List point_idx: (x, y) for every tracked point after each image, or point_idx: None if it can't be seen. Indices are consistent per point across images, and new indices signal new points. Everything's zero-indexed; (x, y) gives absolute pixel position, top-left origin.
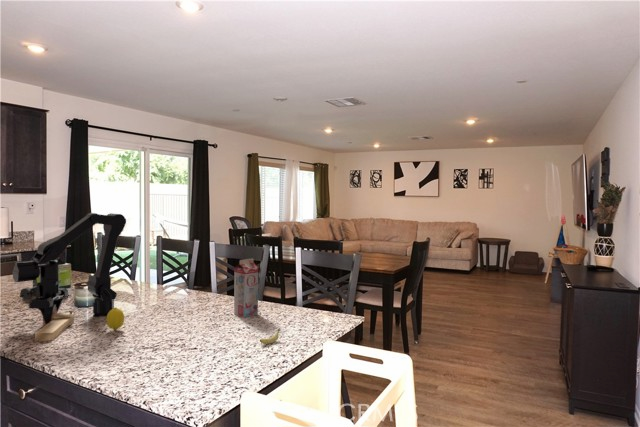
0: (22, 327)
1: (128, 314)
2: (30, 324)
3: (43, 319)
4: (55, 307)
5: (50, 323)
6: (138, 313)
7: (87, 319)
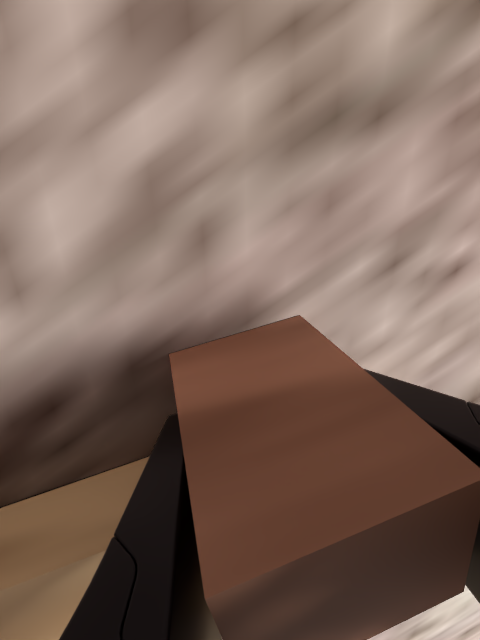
0: (118, 54)
1: (444, 617)
2: (280, 99)
3: (181, 422)
4: (423, 609)
5: (31, 600)
6: (450, 635)
7: None
